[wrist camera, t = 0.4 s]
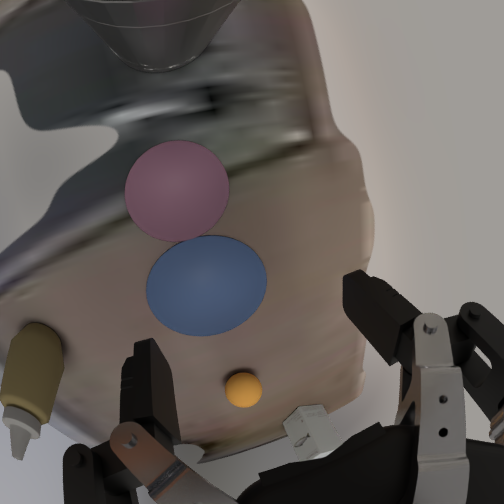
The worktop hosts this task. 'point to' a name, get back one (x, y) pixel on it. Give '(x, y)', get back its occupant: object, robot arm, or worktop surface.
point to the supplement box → (311, 432)
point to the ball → (243, 390)
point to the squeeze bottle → (30, 383)
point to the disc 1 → (176, 191)
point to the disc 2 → (206, 285)
